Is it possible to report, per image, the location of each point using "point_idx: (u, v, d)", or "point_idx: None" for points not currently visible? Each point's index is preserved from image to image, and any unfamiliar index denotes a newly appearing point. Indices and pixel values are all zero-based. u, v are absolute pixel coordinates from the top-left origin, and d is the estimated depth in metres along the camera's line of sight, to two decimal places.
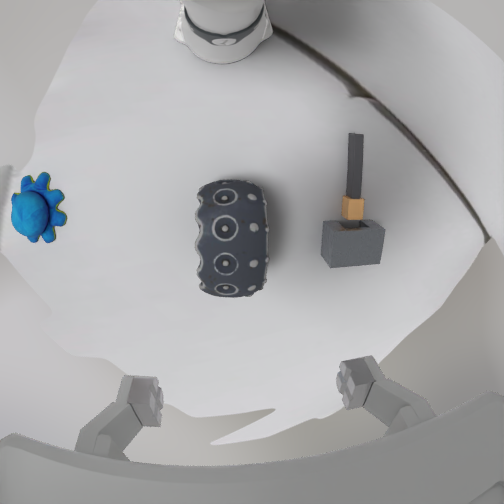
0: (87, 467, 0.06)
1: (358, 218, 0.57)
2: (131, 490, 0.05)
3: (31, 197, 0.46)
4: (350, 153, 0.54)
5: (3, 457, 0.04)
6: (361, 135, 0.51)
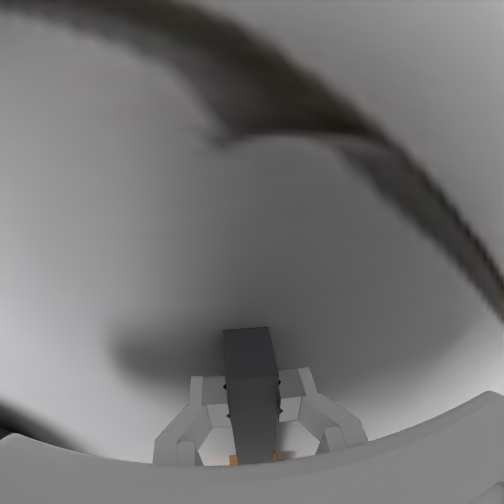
0: (87, 467, 0.06)
1: None
2: (131, 490, 0.05)
3: None
4: None
5: (3, 457, 0.04)
6: (266, 380, 0.10)
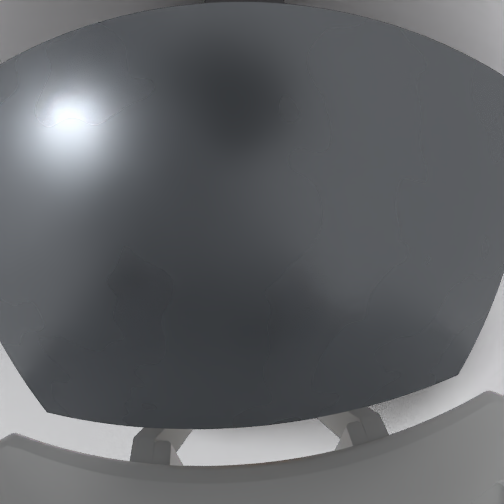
0: (87, 467, 0.06)
1: None
2: (131, 490, 0.05)
3: None
4: None
5: (3, 457, 0.04)
6: None
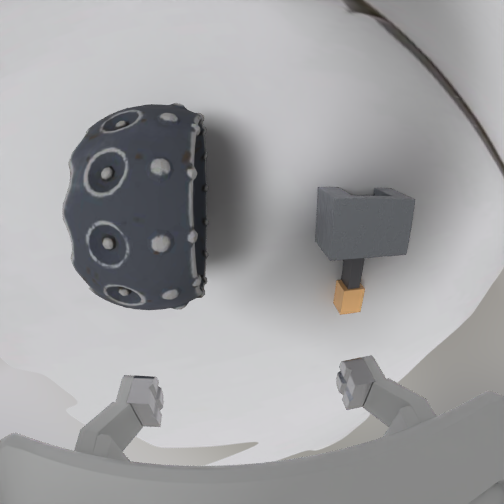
0: (87, 467, 0.06)
1: (355, 311, 0.43)
2: (131, 490, 0.05)
3: None
4: None
5: (3, 457, 0.04)
6: None
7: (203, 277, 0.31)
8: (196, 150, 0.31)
